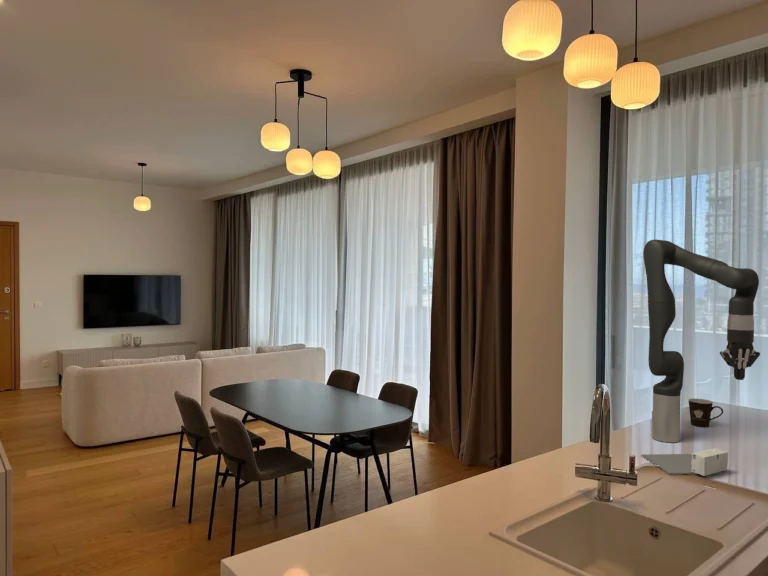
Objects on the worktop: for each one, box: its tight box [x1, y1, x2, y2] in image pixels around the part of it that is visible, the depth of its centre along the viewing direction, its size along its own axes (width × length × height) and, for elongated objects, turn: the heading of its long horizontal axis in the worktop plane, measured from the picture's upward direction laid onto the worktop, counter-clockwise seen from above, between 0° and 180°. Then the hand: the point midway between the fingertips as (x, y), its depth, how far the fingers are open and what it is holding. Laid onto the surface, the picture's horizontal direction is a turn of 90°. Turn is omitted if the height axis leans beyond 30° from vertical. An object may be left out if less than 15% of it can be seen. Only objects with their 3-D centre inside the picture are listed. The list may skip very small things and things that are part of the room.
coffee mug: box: [688, 398, 724, 428], centre depth 221 cm, size 12×9×10 cm
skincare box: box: [691, 447, 729, 477], centre depth 170 cm, size 6×4×12 cm
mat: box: [640, 453, 723, 476], centre depth 178 cm, size 17×17×1 cm
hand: (739, 379), depth 182 cm, fingers closed
